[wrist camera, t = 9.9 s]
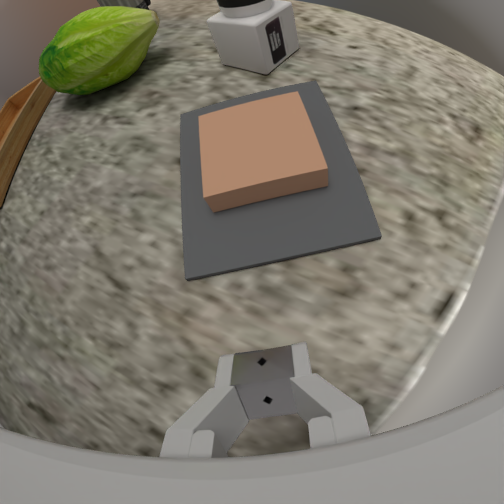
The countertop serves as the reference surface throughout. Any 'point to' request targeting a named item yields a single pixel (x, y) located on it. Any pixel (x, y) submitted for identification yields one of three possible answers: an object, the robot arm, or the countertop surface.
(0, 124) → the tray
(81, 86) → the lettuce
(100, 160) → the countertop surface
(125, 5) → the milk frother
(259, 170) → the block
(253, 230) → the mat
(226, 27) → the container
